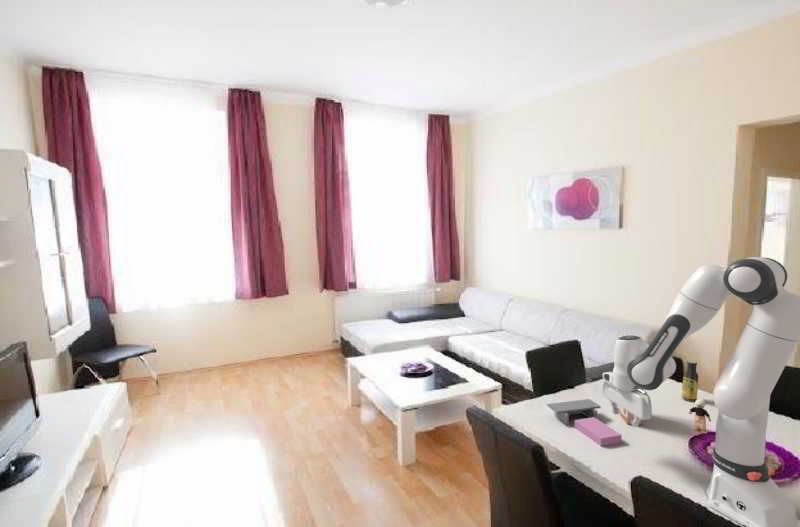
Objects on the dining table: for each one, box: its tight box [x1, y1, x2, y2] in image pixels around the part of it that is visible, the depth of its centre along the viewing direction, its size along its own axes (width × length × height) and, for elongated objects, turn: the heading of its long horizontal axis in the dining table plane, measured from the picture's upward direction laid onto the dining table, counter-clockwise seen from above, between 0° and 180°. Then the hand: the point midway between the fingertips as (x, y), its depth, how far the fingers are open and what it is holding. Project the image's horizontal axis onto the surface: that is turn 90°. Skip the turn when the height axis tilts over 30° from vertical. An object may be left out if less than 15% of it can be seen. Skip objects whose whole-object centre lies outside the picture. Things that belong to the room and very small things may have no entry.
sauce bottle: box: [681, 360, 699, 403], centre depth 189 cm, size 6×6×18 cm
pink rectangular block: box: [573, 417, 622, 447], centre depth 161 cm, size 15×9×4 cm, turn 14°
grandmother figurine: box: [688, 398, 712, 434], centre depth 162 cm, size 8×4×13 cm, turn 41°
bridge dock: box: [546, 398, 602, 426], centre depth 175 cm, size 10×20×5 cm, turn 101°
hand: (624, 419), depth 146 cm, fingers open, 8 cm apart
